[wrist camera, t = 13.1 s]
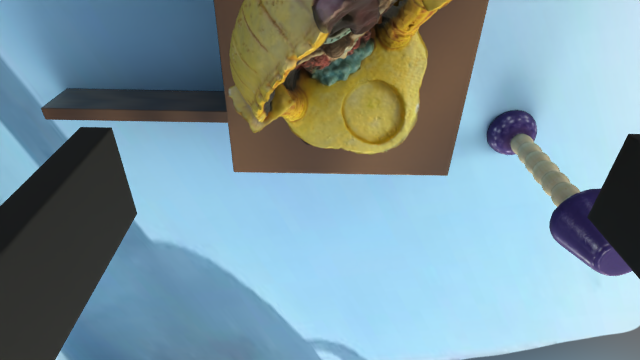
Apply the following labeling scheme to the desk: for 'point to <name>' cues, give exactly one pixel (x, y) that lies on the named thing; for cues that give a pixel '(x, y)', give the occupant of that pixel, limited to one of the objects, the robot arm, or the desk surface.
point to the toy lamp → (557, 194)
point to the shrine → (331, 69)
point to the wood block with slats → (277, 138)
